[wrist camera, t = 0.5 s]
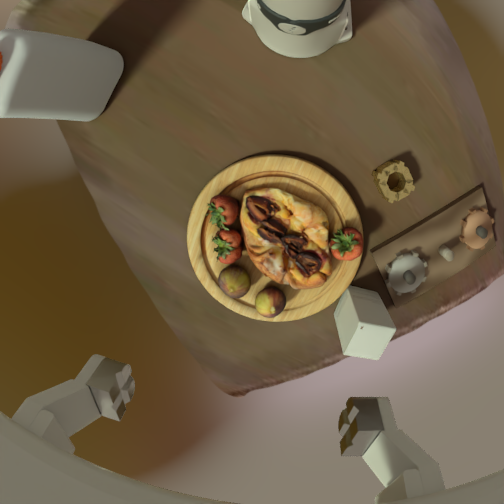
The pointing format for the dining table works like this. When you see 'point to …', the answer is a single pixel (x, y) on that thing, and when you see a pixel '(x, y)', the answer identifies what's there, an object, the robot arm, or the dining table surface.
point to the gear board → (435, 247)
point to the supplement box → (363, 323)
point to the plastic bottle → (55, 76)
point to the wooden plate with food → (275, 237)
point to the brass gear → (403, 184)
